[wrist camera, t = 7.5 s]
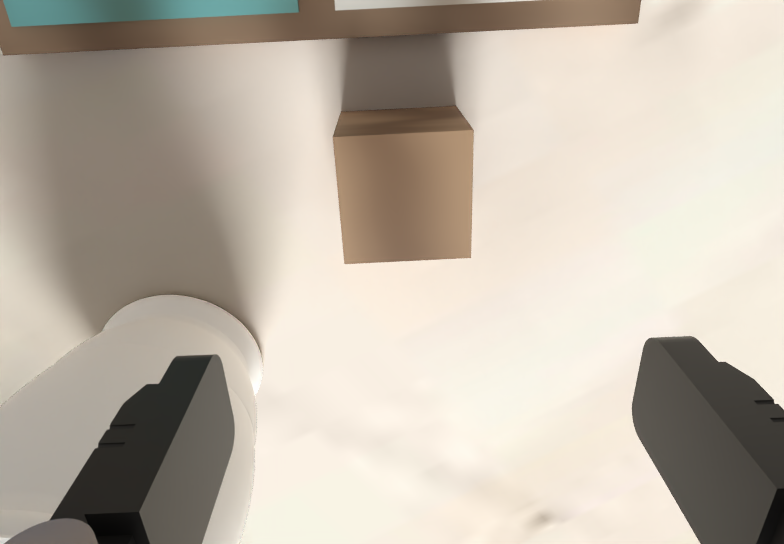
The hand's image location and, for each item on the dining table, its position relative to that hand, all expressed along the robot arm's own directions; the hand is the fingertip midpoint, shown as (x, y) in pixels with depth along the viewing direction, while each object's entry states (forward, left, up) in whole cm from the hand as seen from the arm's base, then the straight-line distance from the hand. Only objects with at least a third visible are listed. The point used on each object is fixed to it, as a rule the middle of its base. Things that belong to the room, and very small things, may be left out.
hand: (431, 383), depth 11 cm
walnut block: (0, 0, -16) cm, 16 cm away
